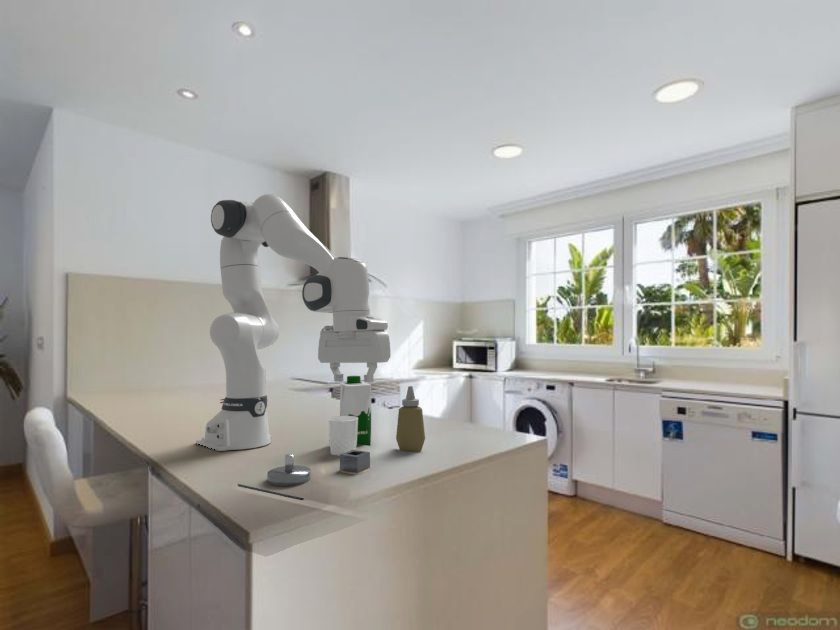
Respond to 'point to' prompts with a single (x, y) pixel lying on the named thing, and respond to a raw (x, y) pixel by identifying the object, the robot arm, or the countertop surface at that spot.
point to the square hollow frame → (354, 461)
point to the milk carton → (357, 406)
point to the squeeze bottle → (410, 424)
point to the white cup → (342, 434)
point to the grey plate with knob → (286, 476)
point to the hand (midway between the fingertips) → (353, 382)
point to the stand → (355, 473)
